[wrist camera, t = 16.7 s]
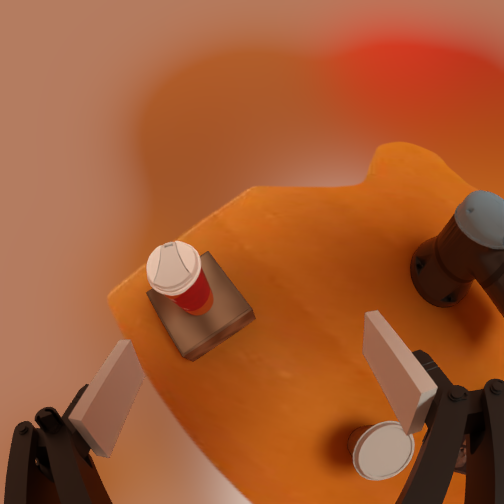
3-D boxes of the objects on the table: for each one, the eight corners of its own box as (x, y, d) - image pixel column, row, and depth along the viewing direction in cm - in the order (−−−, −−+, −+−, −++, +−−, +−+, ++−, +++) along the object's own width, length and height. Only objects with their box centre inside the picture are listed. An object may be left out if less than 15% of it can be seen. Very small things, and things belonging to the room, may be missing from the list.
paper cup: (174, 285, 50) (142, 245, 37) (215, 275, 50) (194, 231, 38) (180, 326, 46) (144, 297, 33) (224, 317, 46) (202, 284, 34)
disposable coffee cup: (329, 458, 38) (343, 475, 27) (351, 411, 41) (372, 414, 31) (375, 470, 35) (400, 486, 25) (396, 423, 39) (426, 428, 28)
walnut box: (214, 265, 58) (207, 250, 52) (255, 318, 52) (252, 308, 46) (158, 303, 55) (145, 292, 49) (193, 361, 49) (182, 356, 43)
